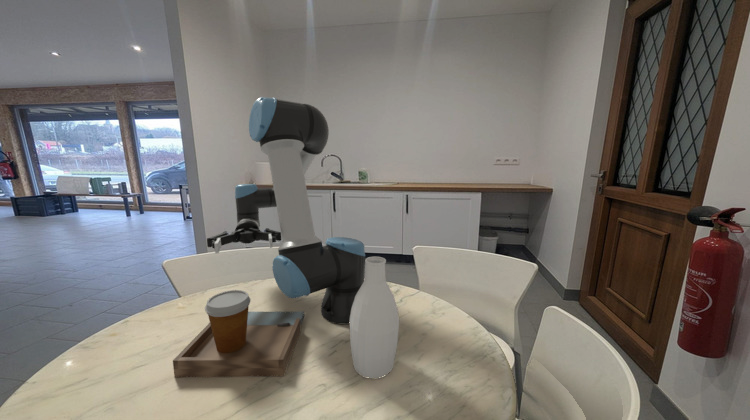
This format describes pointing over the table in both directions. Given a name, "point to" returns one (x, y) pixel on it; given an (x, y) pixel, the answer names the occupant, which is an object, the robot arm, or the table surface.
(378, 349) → the bottle
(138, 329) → the table surface
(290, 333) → the shallow wooden crate
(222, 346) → the disposable coffee cup
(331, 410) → the table surface
